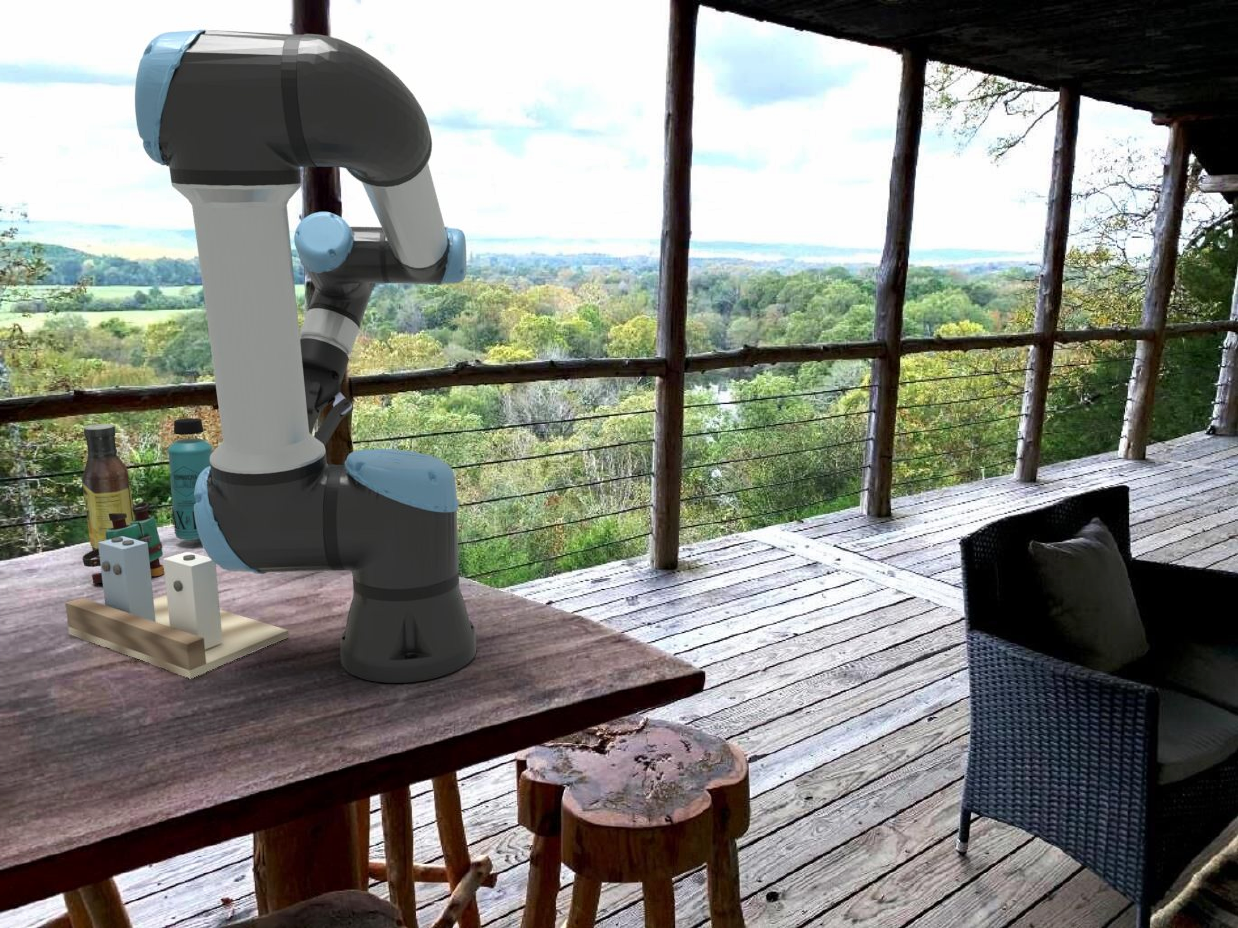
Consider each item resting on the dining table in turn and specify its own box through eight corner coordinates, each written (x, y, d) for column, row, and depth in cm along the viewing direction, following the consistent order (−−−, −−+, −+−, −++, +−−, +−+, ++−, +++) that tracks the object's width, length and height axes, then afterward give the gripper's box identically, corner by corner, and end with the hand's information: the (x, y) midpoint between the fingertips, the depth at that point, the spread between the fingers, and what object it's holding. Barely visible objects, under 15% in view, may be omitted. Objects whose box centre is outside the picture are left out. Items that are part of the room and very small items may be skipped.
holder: (288, 638, 109) (286, 606, 108) (190, 679, 98) (187, 644, 97) (169, 601, 120) (166, 572, 119) (69, 634, 109) (65, 602, 108)
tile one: (222, 642, 104) (215, 556, 102) (196, 652, 101) (188, 564, 99) (195, 633, 107) (187, 549, 104) (169, 643, 104) (160, 556, 102)
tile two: (155, 622, 110) (147, 540, 108) (129, 631, 107) (120, 547, 105) (131, 613, 112) (122, 533, 110) (104, 622, 109) (95, 540, 107)
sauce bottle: (104, 546, 142) (89, 421, 138) (145, 546, 143) (132, 421, 138) (82, 560, 136) (66, 429, 132) (125, 559, 136) (111, 429, 132)
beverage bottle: (176, 539, 146) (164, 416, 142) (221, 535, 149) (210, 414, 145) (174, 551, 140) (161, 423, 136) (221, 546, 143) (210, 421, 139)
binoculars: (105, 501, 132) (165, 499, 129) (119, 571, 134) (178, 570, 131) (56, 517, 123) (119, 515, 121) (72, 592, 125) (134, 590, 123)
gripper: (372, 368, 134) (323, 520, 128) (286, 347, 134) (231, 498, 127) (364, 348, 127) (311, 507, 120) (272, 326, 127) (214, 484, 120)
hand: (270, 502), depth 124 cm, fingers closed
